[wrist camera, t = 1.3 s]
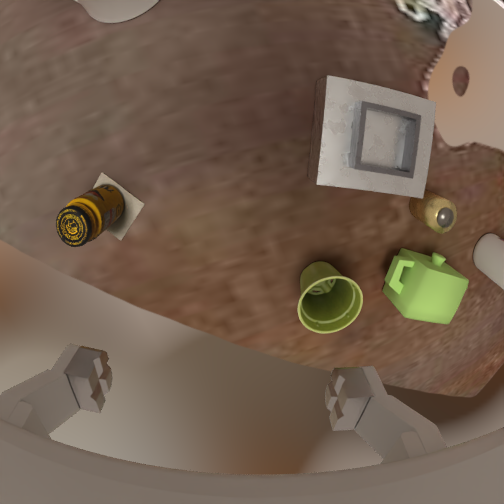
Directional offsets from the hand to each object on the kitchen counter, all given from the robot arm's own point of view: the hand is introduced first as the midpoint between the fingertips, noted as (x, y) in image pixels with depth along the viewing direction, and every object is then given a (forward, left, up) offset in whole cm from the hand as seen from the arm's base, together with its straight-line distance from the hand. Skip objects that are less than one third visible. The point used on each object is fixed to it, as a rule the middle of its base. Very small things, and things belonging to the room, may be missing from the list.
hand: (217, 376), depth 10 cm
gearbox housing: (-8, +18, -37) cm, 42 cm away
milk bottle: (+8, +49, -37) cm, 62 cm away
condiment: (+5, -19, -37) cm, 42 cm away
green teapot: (+13, +33, -37) cm, 51 cm away
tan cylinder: (+1, +30, -37) cm, 47 cm away
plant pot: (+15, +14, -37) cm, 42 cm away
